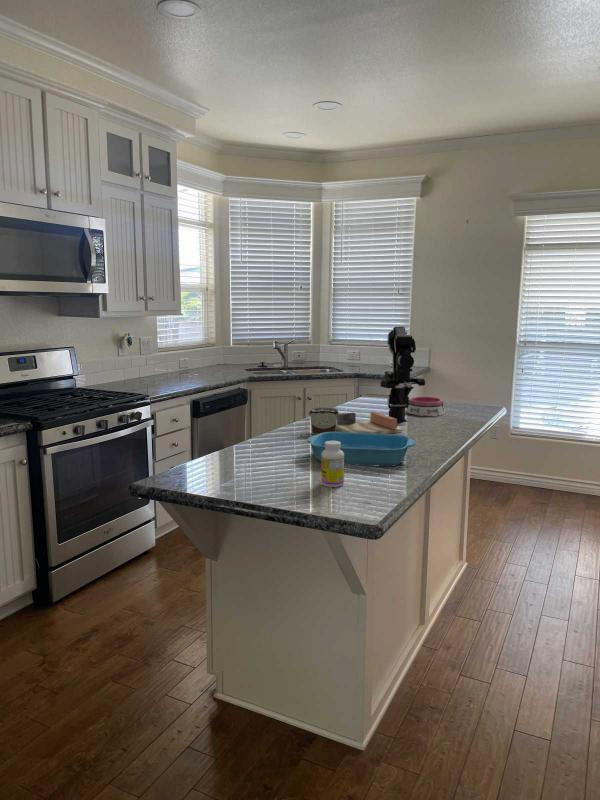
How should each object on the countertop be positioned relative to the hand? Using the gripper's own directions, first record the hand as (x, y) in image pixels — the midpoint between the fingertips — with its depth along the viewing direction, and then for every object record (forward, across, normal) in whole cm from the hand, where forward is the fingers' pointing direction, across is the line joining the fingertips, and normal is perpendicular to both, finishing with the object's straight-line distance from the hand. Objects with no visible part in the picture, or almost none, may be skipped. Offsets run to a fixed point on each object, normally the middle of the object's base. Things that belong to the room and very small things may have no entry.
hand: (402, 403), depth 246 cm
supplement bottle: (+11, +62, +53) cm, 82 cm away
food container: (+11, +32, -10) cm, 35 cm away
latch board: (+11, +14, -6) cm, 19 cm away
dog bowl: (+12, -32, -26) cm, 43 cm away
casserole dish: (+11, +39, +32) cm, 52 cm away
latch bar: (+9, +7, -5) cm, 12 cm away
